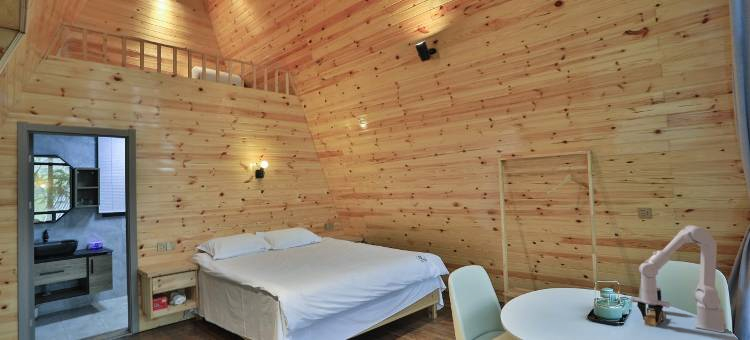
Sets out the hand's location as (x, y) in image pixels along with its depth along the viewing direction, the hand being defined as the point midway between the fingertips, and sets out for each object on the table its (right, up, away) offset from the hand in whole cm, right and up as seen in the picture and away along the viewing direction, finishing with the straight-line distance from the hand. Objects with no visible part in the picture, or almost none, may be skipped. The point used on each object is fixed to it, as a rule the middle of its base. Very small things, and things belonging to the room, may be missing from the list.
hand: (650, 320), depth 186 cm
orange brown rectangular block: (+3, -2, +2) cm, 4 cm away
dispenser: (+7, -2, +7) cm, 10 cm away
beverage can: (+14, -2, +18) cm, 22 cm away
